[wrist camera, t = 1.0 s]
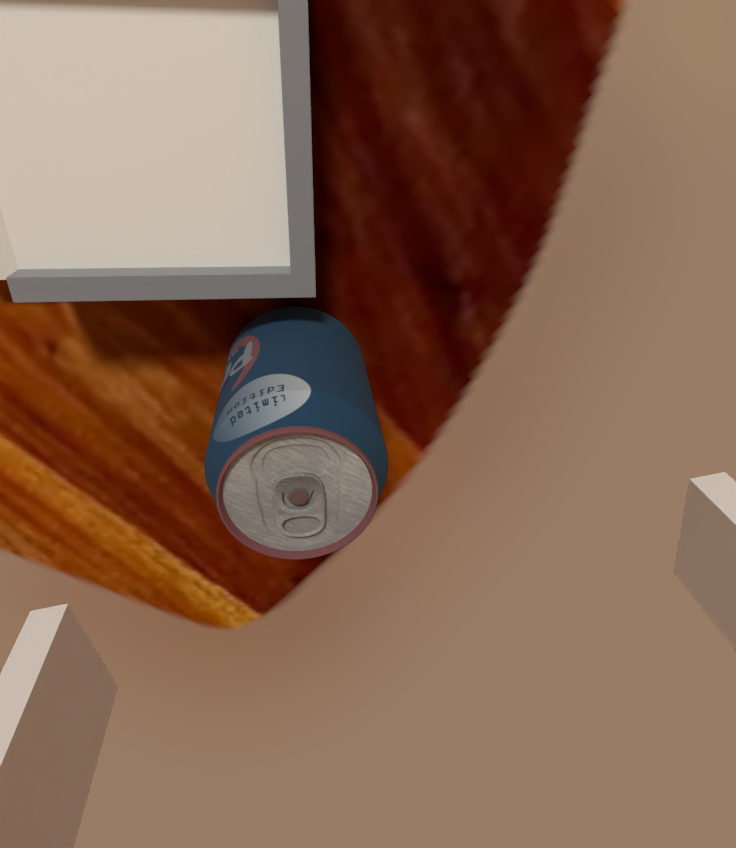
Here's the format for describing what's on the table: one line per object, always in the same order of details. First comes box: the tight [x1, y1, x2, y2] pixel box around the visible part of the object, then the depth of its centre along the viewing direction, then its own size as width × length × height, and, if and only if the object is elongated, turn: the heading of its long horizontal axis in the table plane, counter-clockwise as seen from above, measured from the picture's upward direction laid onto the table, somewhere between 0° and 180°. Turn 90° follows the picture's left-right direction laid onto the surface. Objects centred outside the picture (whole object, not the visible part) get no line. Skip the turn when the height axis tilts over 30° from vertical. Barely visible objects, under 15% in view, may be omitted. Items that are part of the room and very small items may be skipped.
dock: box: [0, 0, 316, 303], centre depth 23 cm, size 15×12×5 cm
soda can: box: [205, 306, 388, 559], centre depth 26 cm, size 7×7×12 cm
